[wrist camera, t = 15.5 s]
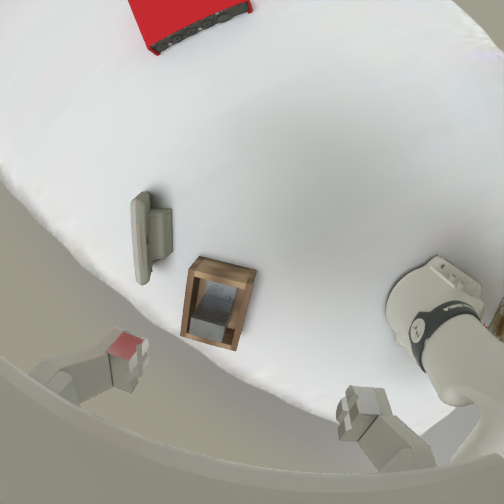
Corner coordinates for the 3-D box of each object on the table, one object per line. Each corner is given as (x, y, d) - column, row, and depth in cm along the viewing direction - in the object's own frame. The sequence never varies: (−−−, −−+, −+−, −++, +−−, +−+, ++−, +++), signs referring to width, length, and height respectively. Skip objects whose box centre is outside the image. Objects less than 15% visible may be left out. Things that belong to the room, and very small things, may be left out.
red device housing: (158, 56, 39) (145, 48, 34) (137, 8, 35) (125, -2, 30) (253, 13, 35) (249, -1, 30) (222, -33, 31) (217, -47, 27)
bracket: (238, 282, 48) (227, 312, 39) (229, 321, 51) (218, 355, 42) (210, 275, 49) (193, 302, 39) (203, 314, 51) (187, 346, 42)
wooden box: (256, 270, 48) (252, 285, 43) (240, 332, 53) (236, 351, 47) (199, 255, 49) (188, 268, 43) (190, 318, 53) (180, 335, 47)
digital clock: (142, 186, 46) (114, 194, 37) (182, 196, 46) (160, 205, 37) (133, 259, 51) (108, 278, 42) (170, 271, 50) (149, 293, 42)
